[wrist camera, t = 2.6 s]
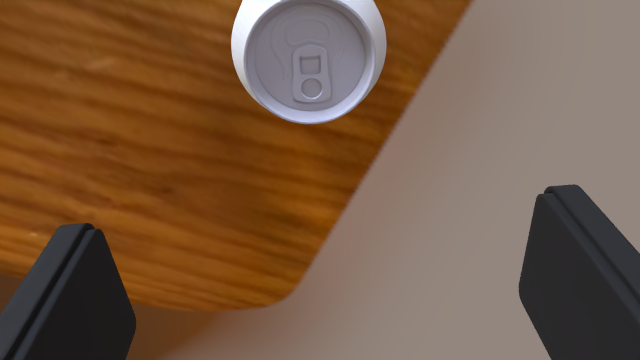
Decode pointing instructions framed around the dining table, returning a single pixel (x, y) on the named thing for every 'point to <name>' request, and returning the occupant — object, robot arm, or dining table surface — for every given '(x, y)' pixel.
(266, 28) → the beverage can
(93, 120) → the dining table surface
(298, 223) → the dining table surface
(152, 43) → the dining table surface
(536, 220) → the robot arm
